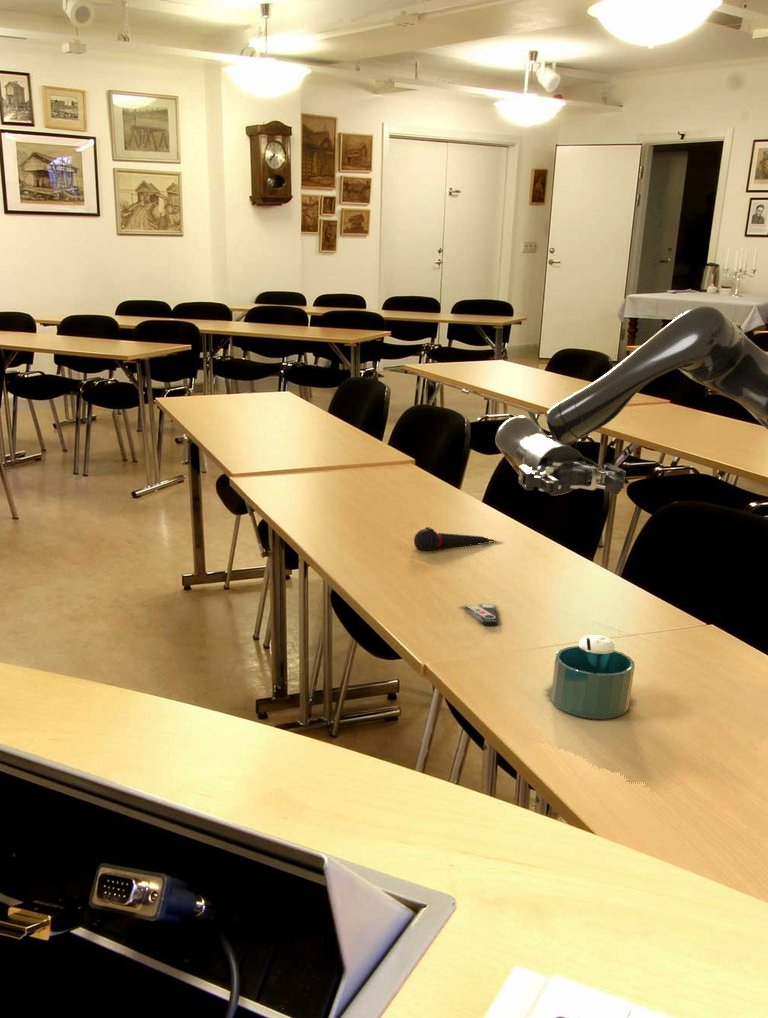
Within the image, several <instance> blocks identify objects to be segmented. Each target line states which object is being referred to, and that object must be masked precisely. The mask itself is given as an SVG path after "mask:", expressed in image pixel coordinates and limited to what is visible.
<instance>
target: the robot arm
mask: <svg viewBox="0 0 768 1018" xmlns="http://www.w3.org/2000/svg"><path fill="white" fill-rule="evenodd" d="M675 370H679V371H680V372H681V373H682V374H684V375H685V376H687V377H688V378H689V379H690V380H692V381H694V382H696V383H698V384H700V385H702V386H703V387H704V386H705V387H707V388H709V389H710V390H713V391H715V392H717V393H719V394H721V395H723V396H725V397H727V398H729V399H730V400H732V401H734V402H736V403H737V404H739V405H741V406H742V407H743V408H744V409H746V411H747V412H748V413H749V414H751V416H752V417H753V418H754V419H755V420H757V422H758V423H759V424H761V425H762V426H763V427H764V428H765V429H766V430H768V352H766V351H764V349H761V348H760V347H759V346H758V345H756V343H754V342H753V341H752V340H751V339H750V338H748V336H747V335H746V334H745V333H744V331H742V330H741V329H740V327H738V326H737V325H736V323H734V322H733V321H732V320H731V319H730V318H729V317H728V316H727V315H726V314H725V313H724V312H723V311H721V310H720V309H719V308H716V307H714V306H710V305H701V306H697V307H693V308H691V309H689V310H687V311H685V312H684V313H683V314H682V313H681V314H680V315H678V316H677V317H675V319H673V320H672V321H671V322H669V323H668V324H667V325H665V326H664V327H663V328H661V329H660V330H659V331H658V332H657V333H655V334H653V336H651V337H650V338H649V339H648V340H647V341H646V342H644V343H643V344H642V345H640V346H639V347H638V348H636V349H635V350H633V352H631V353H630V354H628V356H626V357H625V358H624V359H623V360H621V361H620V362H619V363H617V364H616V365H615V366H614V367H612V368H611V369H610V370H608V371H607V372H605V374H603V375H602V376H600V377H599V378H597V379H596V380H594V381H593V382H591V383H590V384H588V385H586V386H584V387H583V388H581V389H579V390H578V391H576V392H574V393H572V394H571V395H569V396H568V397H565V398H564V399H562V400H561V401H559V402H557V403H555V404H554V405H552V406H551V407H550V408H549V409H548V410H547V412H546V414H545V421H546V424H547V427H548V430H549V432H550V435H551V436H549V435H547V433H546V432H545V431H543V429H542V428H541V427H540V426H539V425H538V424H537V423H536V422H535V421H534V420H533V419H532V418H530V417H528V416H525V415H517V416H513V417H511V418H509V419H507V420H505V421H504V422H503V423H502V424H500V426H499V427H498V429H497V430H496V433H495V439H494V440H495V441H494V442H495V445H496V447H497V448H498V450H499V451H500V453H501V454H502V455H503V456H504V458H505V459H506V461H507V462H508V463H509V464H510V466H511V467H512V468H513V470H515V472H516V473H517V474H518V481H517V482H518V484H519V485H520V486H521V487H522V488H523V489H524V490H525V491H528V492H530V491H534V489H535V488H538V491H540V492H543V493H544V492H545V493H547V494H548V495H550V496H553V497H554V496H555V497H557V496H561V495H565V494H568V493H570V492H572V491H573V490H578V489H582V490H588V491H595V490H599V489H600V490H601V489H602V490H605V491H606V492H608V493H609V494H611V495H617V496H618V495H619V494H620V492H622V489H625V479H626V475H627V471H626V470H624V469H622V468H621V467H618V466H616V465H614V464H612V463H604V464H602V465H603V466H601V465H596V464H595V465H594V464H589V463H586V461H585V458H584V456H583V455H582V454H581V452H580V451H578V449H576V448H574V447H573V446H571V445H573V444H574V443H576V442H577V441H579V440H580V439H582V438H584V437H586V436H588V435H589V434H591V433H593V432H595V431H597V430H599V429H600V428H602V427H604V426H606V425H607V424H609V423H610V422H611V421H612V420H614V419H616V417H617V416H618V415H619V414H620V413H621V412H622V411H623V410H624V409H625V408H626V407H627V405H628V404H629V403H630V401H631V400H632V399H633V398H634V397H635V396H636V394H637V393H639V391H641V390H642V389H643V388H644V387H645V386H646V385H648V384H649V383H651V382H652V381H654V380H656V379H657V378H660V377H661V376H663V375H666V374H667V373H670V372H672V371H675ZM589 482H590V483H589Z"/></svg>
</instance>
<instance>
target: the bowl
mask: <svg viewBox="0 0 768 1018" xmlns="http://www.w3.org/2000/svg"><path fill="white" fill-rule="evenodd" d="M635 669H636V666H635V661H634V660H633V659H632V658H631V657H630V656H629V655H627V654H625V653H623V652H621V651H618V650H615V649H614V652H613V656H612V659H611V663H610V667H609V672H608V674H598V673H589V672H584V671H580V670H579V645H574V646H567V647H565V648H562V649H559V651H557V652H556V653H555V659H554V666H553V675H552V676H553V677H552V683H551V684H552V685H551V691H550V692H551V693H550V701H551V703H552V704H553V705H554V706H555V707H556V708H558V709H559V710H561V711H562V712H565V713H567V714H570V715H573V716H578V717H582V718H585V719H586V718H587V719H599V720H600V719H601V720H602V719H603V720H604V719H612V718H617V717H620V716H622V715H624V714H625V713H627V711H628V709H629V706H630V702H631V701H630V699H631V693H632V687H633V680H634V673H635Z"/></svg>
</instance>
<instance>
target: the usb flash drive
mask: <svg viewBox="0 0 768 1018" xmlns="http://www.w3.org/2000/svg"><path fill="white" fill-rule="evenodd" d="M463 608H464V611H465V612H467V613H468V614H470V615H471V616H472V617H474V618H476V619H478V620H479V621H481V622H482V626H484V627H496V626H497V624H498V622H497V621H498V620H497V614H496V608H495V607H494V604H493V603H491V604H489V603H486V604H485V603H482V605H481V606H479V605H478V604H476V603H474V604H467V605H464V606H463Z"/></svg>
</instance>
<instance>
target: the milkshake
mask: <svg viewBox="0 0 768 1018" xmlns="http://www.w3.org/2000/svg"><path fill="white" fill-rule="evenodd" d="M615 645H616V644H615V642H613V640H612V639H610V638H609V637H607V636H604V635H596V634H589V635H585V636H583V637H582V638H581V639H579V641H578V646H579V670H580V671H584V672H589V673H598V674H608V672H609V667H610V663H611V659H612V656H613V652H614V650H615V648H616V646H615Z"/></svg>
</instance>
